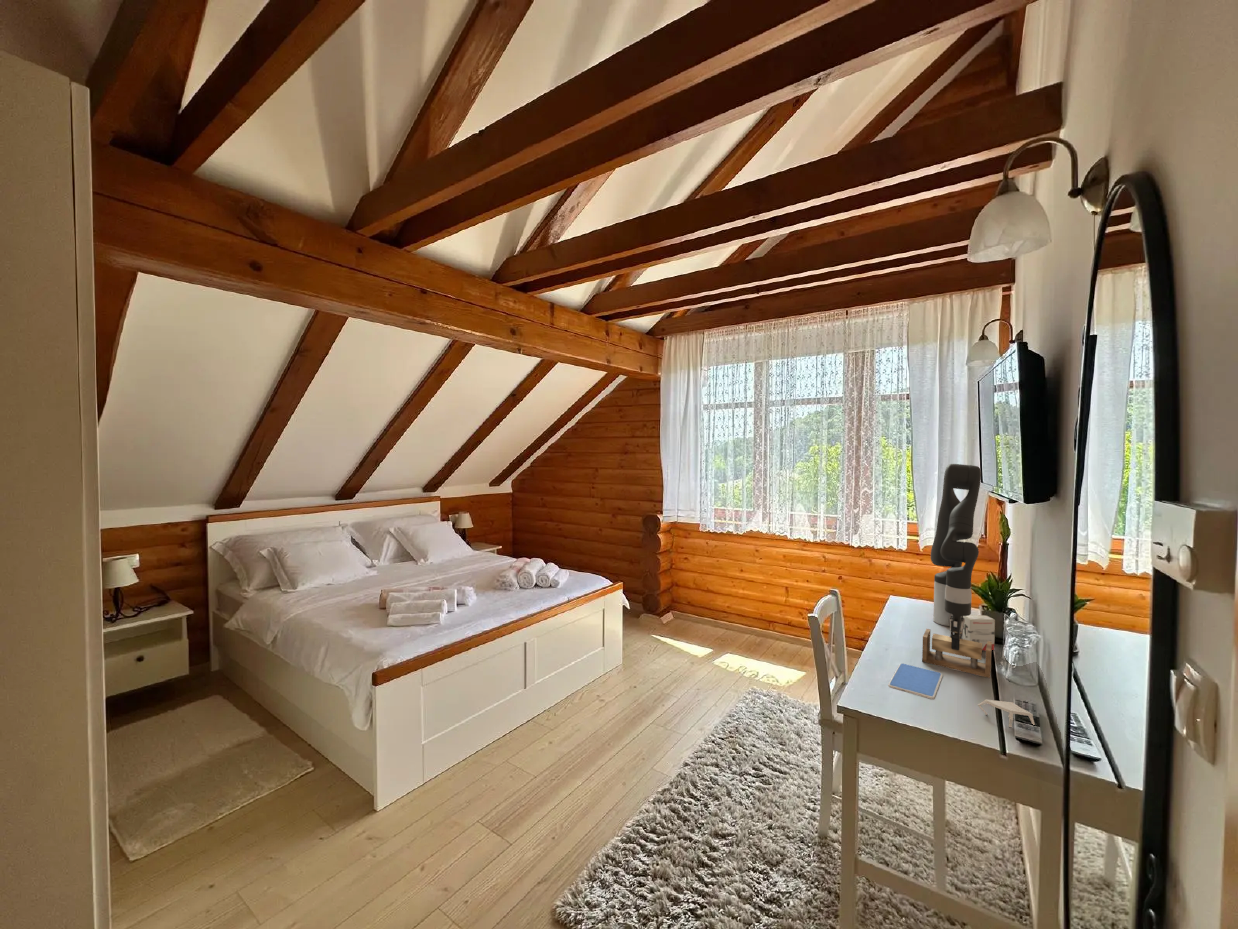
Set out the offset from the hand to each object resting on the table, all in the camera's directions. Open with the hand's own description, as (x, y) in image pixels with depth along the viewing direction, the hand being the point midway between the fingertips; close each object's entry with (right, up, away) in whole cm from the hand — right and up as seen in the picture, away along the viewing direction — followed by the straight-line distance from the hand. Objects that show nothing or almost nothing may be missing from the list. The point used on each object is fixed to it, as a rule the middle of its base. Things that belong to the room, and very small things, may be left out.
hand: (956, 645), depth 169 cm
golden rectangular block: (0, -2, 0) cm, 2 cm away
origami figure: (-9, -9, -33) cm, 35 cm away
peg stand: (0, -7, 0) cm, 7 cm away
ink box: (+17, -6, +13) cm, 23 cm away
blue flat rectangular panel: (-20, -9, -10) cm, 24 cm away
